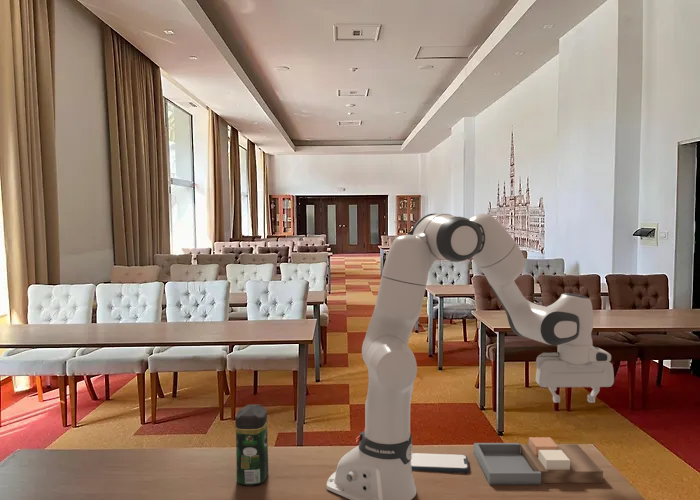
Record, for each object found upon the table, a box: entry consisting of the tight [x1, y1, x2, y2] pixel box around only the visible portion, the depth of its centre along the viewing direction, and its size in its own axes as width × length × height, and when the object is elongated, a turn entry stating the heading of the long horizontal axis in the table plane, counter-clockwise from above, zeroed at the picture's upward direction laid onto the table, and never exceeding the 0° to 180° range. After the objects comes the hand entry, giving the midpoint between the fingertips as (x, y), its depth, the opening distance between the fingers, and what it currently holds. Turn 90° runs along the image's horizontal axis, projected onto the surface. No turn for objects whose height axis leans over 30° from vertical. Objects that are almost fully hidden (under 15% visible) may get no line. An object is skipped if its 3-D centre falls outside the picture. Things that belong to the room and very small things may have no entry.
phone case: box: [411, 452, 470, 474], centre depth 149 cm, size 9×2×16 cm
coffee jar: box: [234, 404, 269, 487], centre depth 141 cm, size 10×8×19 cm
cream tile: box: [538, 450, 570, 470], centre depth 142 cm, size 6×6×2 cm
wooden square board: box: [520, 443, 604, 484], centre depth 146 cm, size 16×16×3 cm
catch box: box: [473, 442, 542, 486], centre depth 146 cm, size 13×18×3 cm
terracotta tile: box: [528, 436, 558, 456], centre depth 150 cm, size 6×6×2 cm
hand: (573, 402), depth 149 cm, fingers open, 8 cm apart
